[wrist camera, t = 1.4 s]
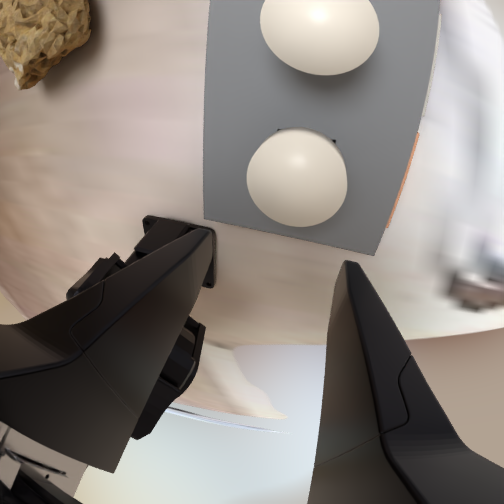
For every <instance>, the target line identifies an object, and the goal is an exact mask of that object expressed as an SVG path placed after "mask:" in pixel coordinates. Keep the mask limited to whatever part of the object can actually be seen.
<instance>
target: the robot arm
mask: <svg viewBox="0 0 504 504" xmlns="http://www.w3.org/2000/svg"><path fill="white" fill-rule="evenodd" d="M148 221H149V222H148ZM142 222H143V228H144V233H145V236H144V237H143V238H142V239H141V240H140V241H139V243H138V244H137V245H136V246H135V248H134V250H135V251H134V252H133V253H132V254H131V255H130V257H129V258H128V259H127V260H126V262H125V263H124V262H123V261H122V260H121V259H120V257H119V256H118V255H117V254H116V253H115V252H114V254H113V255H112V256H111V257H110V258H109V259H108V258H107V257H106V258H105V259H103V258H99V259H98V261H97V262H96V263H95V264H94V265H93V266H92V268H91V269H90V270H89V271H88V272H87V273H86V274H85V275H84V276H83V277H82V278H81V279H79V280H78V281H77V282H76V283H75V284H74V285H73V286H72V287H71V288H70V289H69V290H68V292H67V293H66V299H67V301H65V302H63V303H61V304H59V305H57V306H55V307H53V308H51V309H49V310H47V311H45V312H43V313H41V314H39V315H37V316H35V317H33V318H31V319H29V320H27V321H24V322H21V323H18V324H12V325H2V324H0V504H82V503H81V502H79V501H78V500H76V499H74V498H73V496H74V494H75V492H76V490H77V487H78V485H79V483H80V480H81V478H82V476H83V474H84V472H85V470H86V468H87V467H88V465H90V466H92V467H95V468H98V469H101V470H104V471H107V472H110V473H114V472H115V470H116V467H117V465H118V463H119V461H120V458H121V456H122V454H123V452H124V450H125V447H126V445H127V443H128V441H129V438H130V437H132V438H134V439H136V440H138V439H141V438H142V437H144V436H146V435H148V434H150V433H151V432H152V430H153V428H154V427H155V425H156V424H157V422H158V420H159V419H160V417H161V415H162V414H163V413H164V411H165V410H166V409H167V408H168V406H169V405H170V404H171V403H172V402H173V401H174V400H175V399H176V398H177V397H179V396H180V395H181V394H183V393H184V392H185V390H186V389H187V388H188V387H189V385H190V384H191V383H192V381H193V379H194V377H195V375H196V372H197V370H198V366H199V361H200V355H201V350H202V345H203V340H204V334H205V329H206V327H205V326H204V325H202V324H201V323H198V322H196V321H195V320H194V319H193V318H191V317H190V316H189V314H190V312H191V310H192V308H193V306H194V304H195V302H196V299H197V297H198V294H199V291H200V289H201V286H203V287H206V288H213V287H214V285H215V232H214V230H213V229H211V228H208V227H203V226H199V225H194V224H189V223H184V222H180V221H175V220H170V219H165V218H159V217H154V216H149V215H147V216H145V217H144V219H143V221H142ZM307 504H504V468H502V467H500V466H499V465H497V464H495V463H493V462H491V461H489V460H488V459H486V458H484V457H482V456H480V455H478V454H477V453H475V452H474V451H472V450H470V449H469V448H468V447H467V446H466V445H465V444H464V443H463V442H462V440H461V439H460V438H459V436H458V435H457V433H456V431H455V430H454V428H453V426H452V424H451V422H450V421H449V419H448V417H447V415H446V414H445V412H444V410H443V409H442V407H441V405H440V404H439V402H438V400H437V399H436V397H435V395H434V394H433V392H432V390H431V389H430V387H429V385H428V384H427V382H426V380H425V378H424V376H423V374H422V372H421V371H420V369H419V367H418V365H417V363H416V361H415V359H414V357H413V356H412V355H411V352H410V350H409V348H408V346H407V344H406V342H405V341H404V339H403V337H402V335H401V333H400V331H399V330H398V328H397V326H396V324H395V323H394V321H393V319H392V317H391V316H390V314H389V312H388V310H387V309H386V307H385V305H384V304H383V302H382V300H381V299H380V297H379V295H378V294H377V292H376V290H375V289H374V287H373V286H372V284H371V282H370V281H369V279H368V277H367V276H366V274H365V273H364V271H363V270H362V268H361V266H360V265H359V264H358V263H357V262H352V261H348V260H345V261H344V262H343V264H342V267H341V269H340V272H339V275H338V277H337V280H336V283H335V288H334V295H333V301H332V308H331V314H330V320H329V326H328V333H327V347H326V363H325V376H324V388H323V399H322V409H321V419H320V427H319V435H318V442H317V449H316V456H315V463H314V469H313V476H312V481H311V487H310V492H309V497H308V503H307Z"/></svg>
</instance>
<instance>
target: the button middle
mask: <svg viewBox="0 0 504 504" xmlns="http://www.w3.org/2000/svg"><path fill="white" fill-rule="evenodd" d="M260 25H261V31H262V34H263V37H264V39H265V41H266V43H267V45H268V46H269V48H270V49H271V50H272V52H273V53H274V54H275V55H276V56H277V57H278V58H279V59H281V60H282V61H283V62H285V63H286V64H288V65H289V66H291V67H293V68H295V69H297V70H300V71H303V72H306V73H310V74H315V75H337V74H341V73H345V72H348V71H351V70H353V69H355V68H357V67H358V66H360V65H361V64H363V63H364V62H365V61H366V60H367V59H368V58H369V57H370V55H371V54H372V53H373V51H374V49H375V47H376V45H377V42H378V38H379V22H378V18H377V14H376V12H375V10H374V8H373V6H372V4H371V3H370V1H369V0H265V2H264V3H263V6H262V9H261V14H260Z"/></svg>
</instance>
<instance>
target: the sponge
mask: <svg viewBox="0 0 504 504" xmlns="http://www.w3.org/2000/svg"><path fill="white" fill-rule="evenodd" d="M89 11H90V9H89V2H88V0H0V56H1V57H2V59H3V60H4V62H5V64H6V66H7V67H8V68H9V69H10V71H11V72H12V73H14V74H15V86H16V88H17V89H18V90H22V89H29V88H31V87H33V86H35V85H36V83H38V82H39V81H40V80H41V79H42V78H44V77H45V76H46V74H47V72H48V71H49V69H50V68H51V67H52V66H54V65H56V64H58V63H59V62H60V60H61V58H62V56H63V57H64V56H66V55H67V54H68V53H69V52H71V51H72V50H74V49H75V48H76V47H80V46H82V45H83V44H85V43H86V42H87V40H88V39H89V37H90V33H91V29H89V22H90V20H91V17H90V16H89Z"/></svg>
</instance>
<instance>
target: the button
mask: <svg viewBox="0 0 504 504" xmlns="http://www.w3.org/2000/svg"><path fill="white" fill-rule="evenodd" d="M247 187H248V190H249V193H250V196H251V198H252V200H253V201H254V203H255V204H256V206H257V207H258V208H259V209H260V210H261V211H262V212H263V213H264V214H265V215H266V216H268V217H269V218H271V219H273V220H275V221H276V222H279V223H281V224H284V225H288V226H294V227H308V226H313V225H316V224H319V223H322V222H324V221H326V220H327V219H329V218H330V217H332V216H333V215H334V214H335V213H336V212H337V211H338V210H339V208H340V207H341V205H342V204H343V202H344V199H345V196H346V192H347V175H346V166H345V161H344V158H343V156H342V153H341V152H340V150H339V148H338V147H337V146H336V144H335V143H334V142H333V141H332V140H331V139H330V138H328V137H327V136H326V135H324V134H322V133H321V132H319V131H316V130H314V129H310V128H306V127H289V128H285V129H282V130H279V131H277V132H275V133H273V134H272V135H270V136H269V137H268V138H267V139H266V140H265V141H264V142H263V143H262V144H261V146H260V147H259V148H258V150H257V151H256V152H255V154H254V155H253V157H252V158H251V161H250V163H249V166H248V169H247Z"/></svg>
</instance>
